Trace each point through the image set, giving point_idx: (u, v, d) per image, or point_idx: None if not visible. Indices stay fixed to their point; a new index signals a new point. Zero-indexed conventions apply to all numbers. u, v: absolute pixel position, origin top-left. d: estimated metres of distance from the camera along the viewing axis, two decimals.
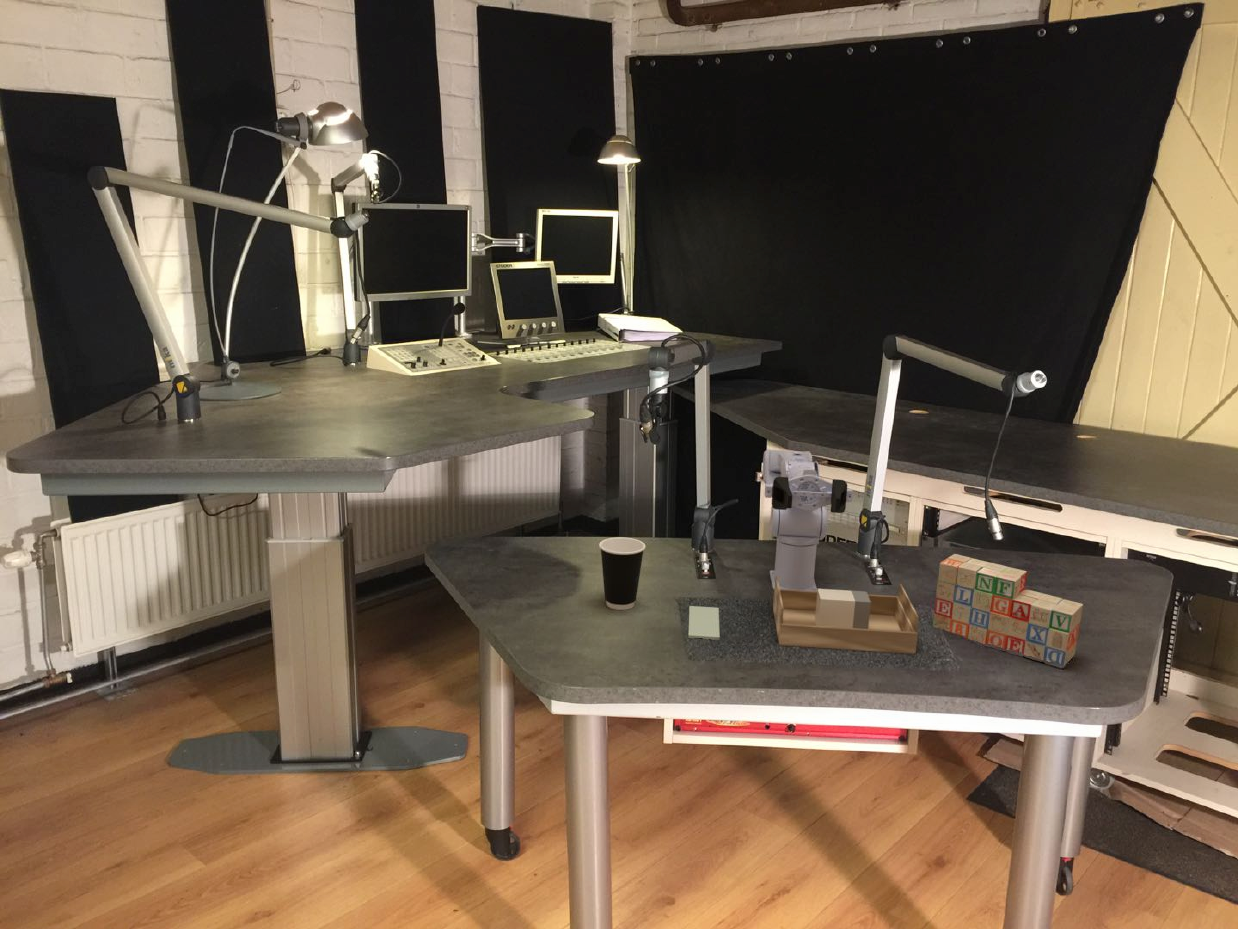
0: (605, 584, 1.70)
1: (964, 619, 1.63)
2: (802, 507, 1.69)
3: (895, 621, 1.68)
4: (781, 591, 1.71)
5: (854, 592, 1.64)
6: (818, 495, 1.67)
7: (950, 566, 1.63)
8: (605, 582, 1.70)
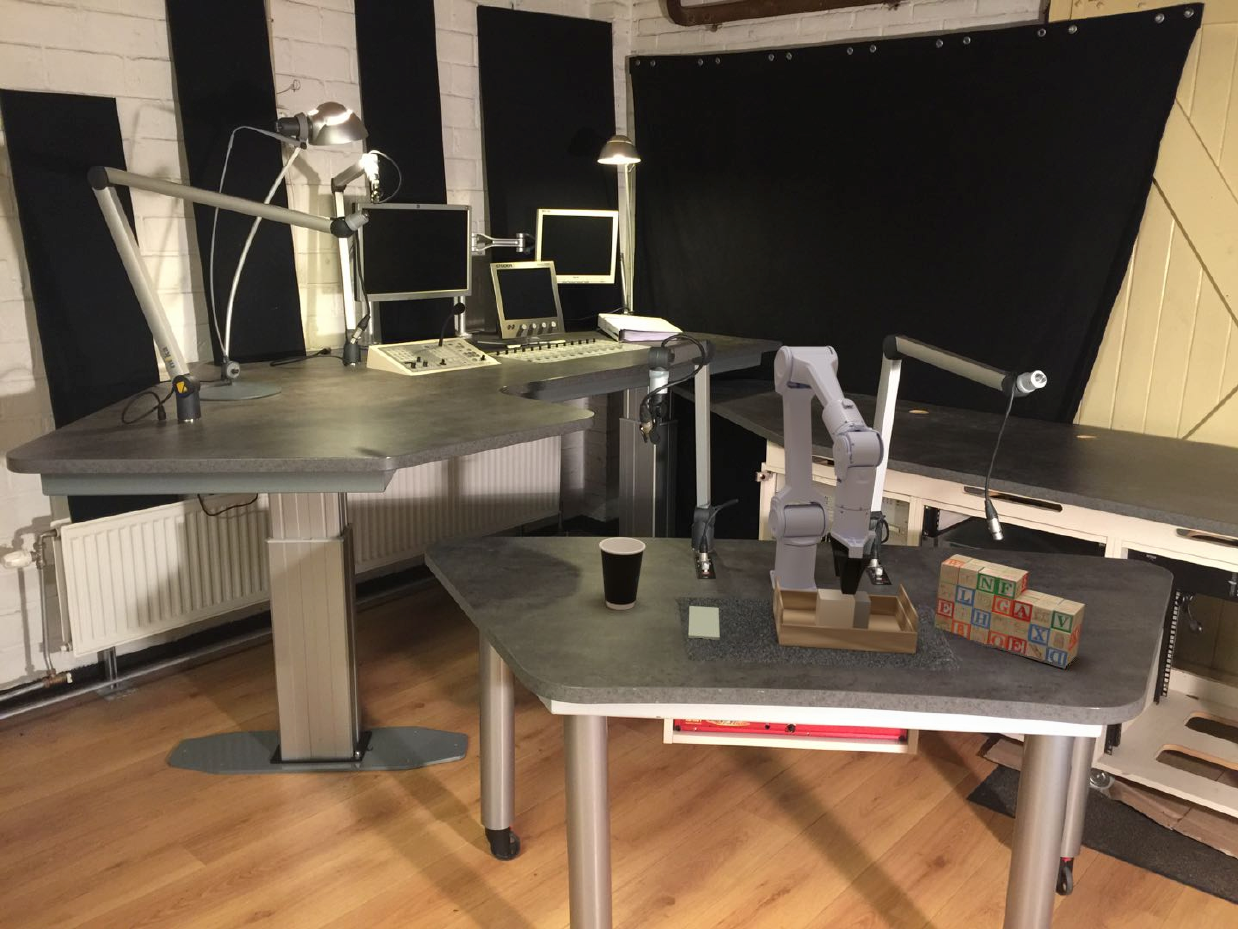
0: (605, 584, 1.70)
1: (965, 620, 1.62)
2: (834, 536, 1.59)
3: (895, 621, 1.68)
4: (781, 591, 1.71)
5: None
6: None
7: (951, 566, 1.62)
8: (605, 582, 1.70)
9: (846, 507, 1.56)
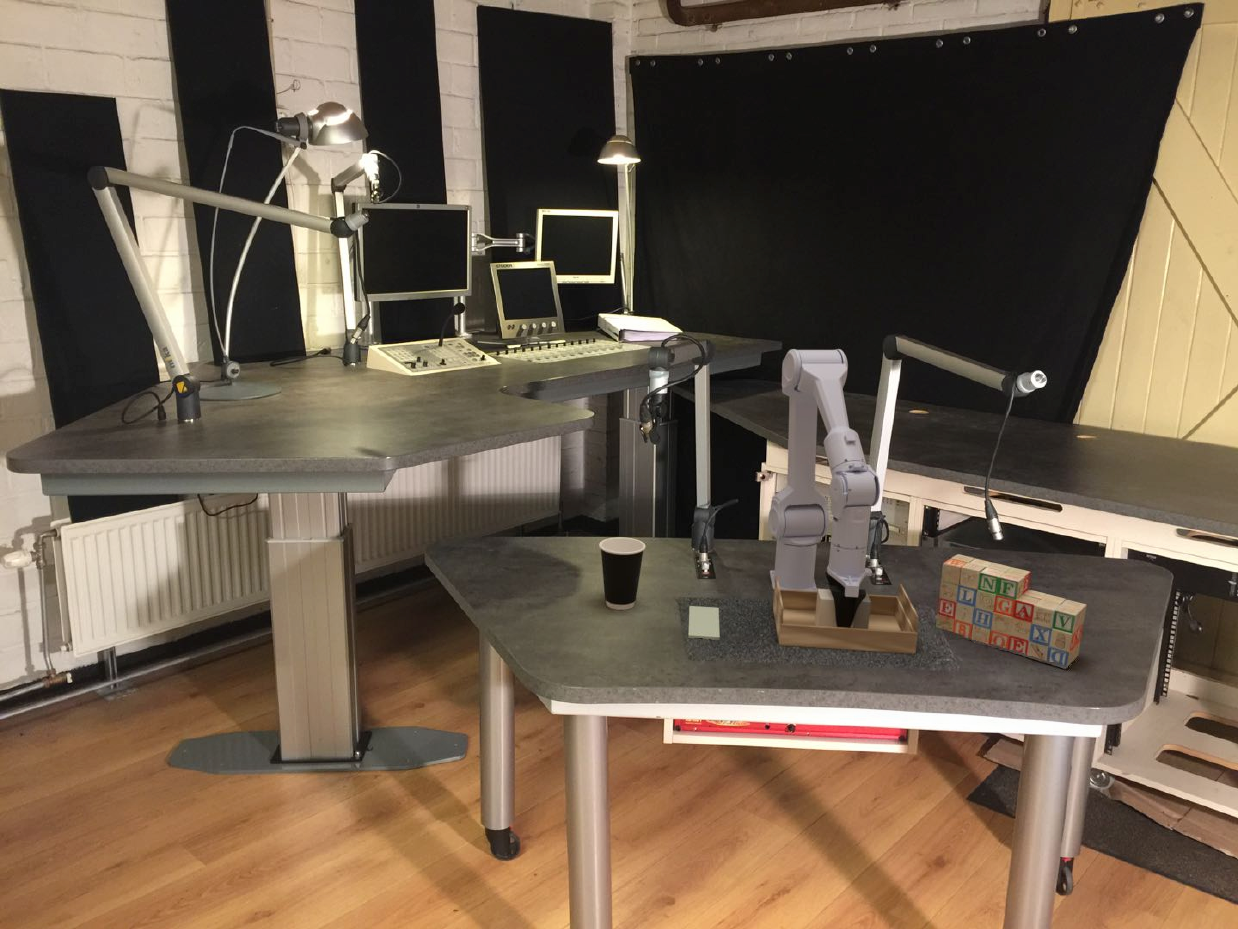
0: (605, 584, 1.70)
1: (967, 620, 1.63)
2: None
3: (895, 621, 1.68)
4: (781, 591, 1.71)
5: None
6: None
7: (953, 566, 1.62)
8: (605, 582, 1.70)
9: (842, 546, 1.58)
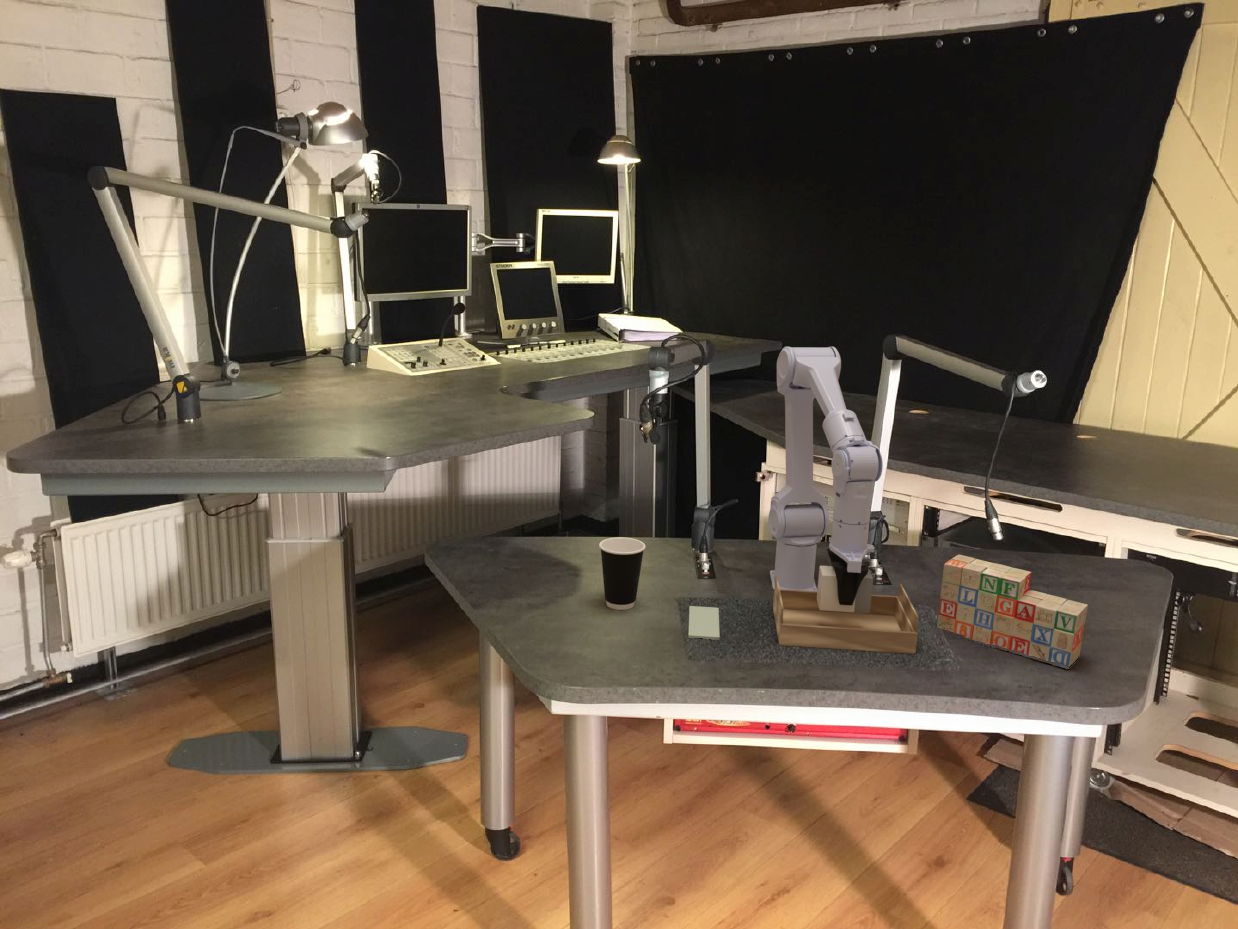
0: (605, 584, 1.70)
1: (968, 620, 1.62)
2: None
3: (895, 621, 1.68)
4: (781, 591, 1.71)
5: None
6: None
7: (954, 567, 1.62)
8: (605, 582, 1.70)
9: (845, 521, 1.57)
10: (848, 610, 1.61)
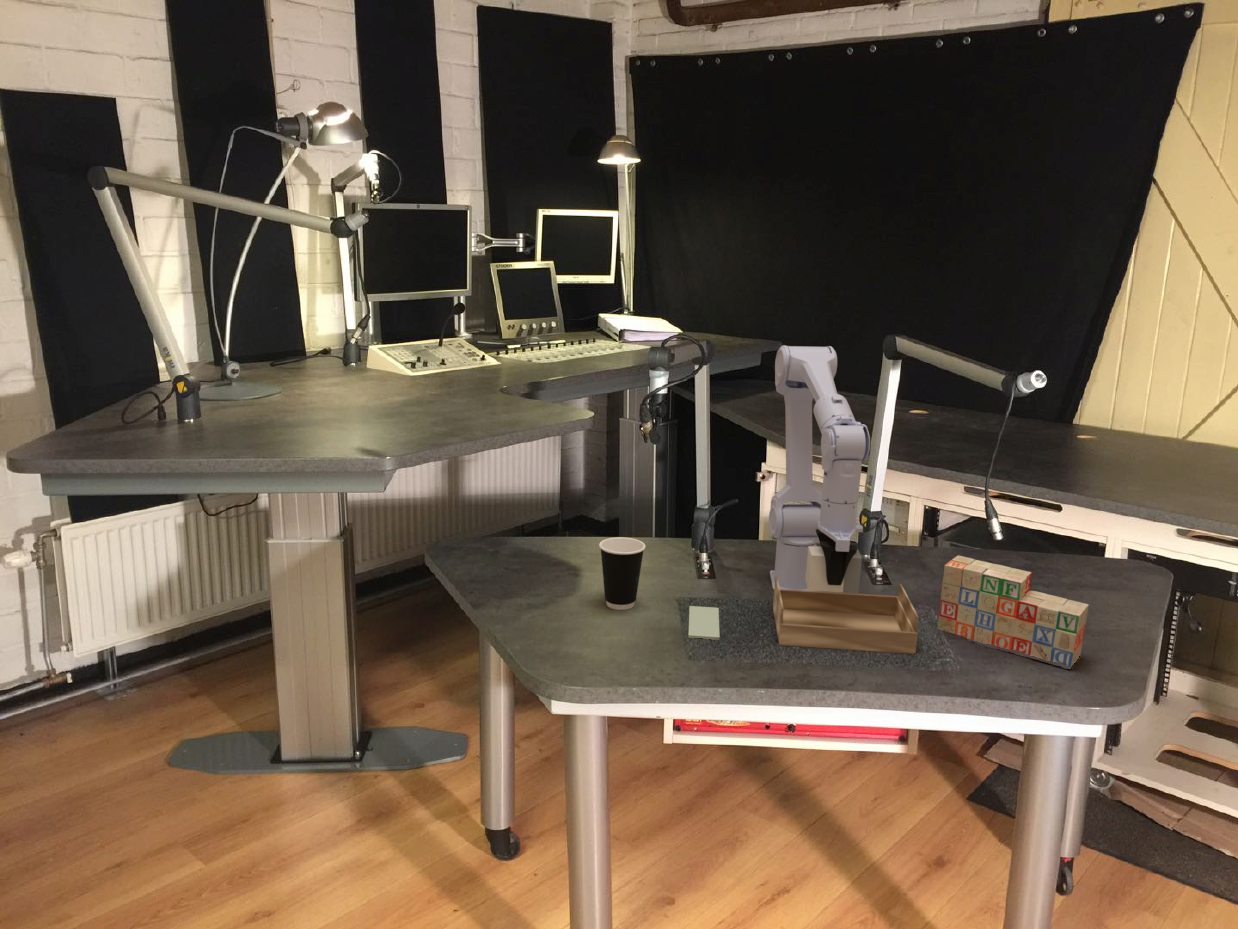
0: (605, 584, 1.70)
1: (969, 621, 1.62)
2: (821, 530, 1.59)
3: (895, 621, 1.68)
4: (781, 591, 1.71)
5: None
6: None
7: (955, 568, 1.62)
8: (605, 582, 1.70)
9: (831, 500, 1.56)
10: (837, 590, 1.60)
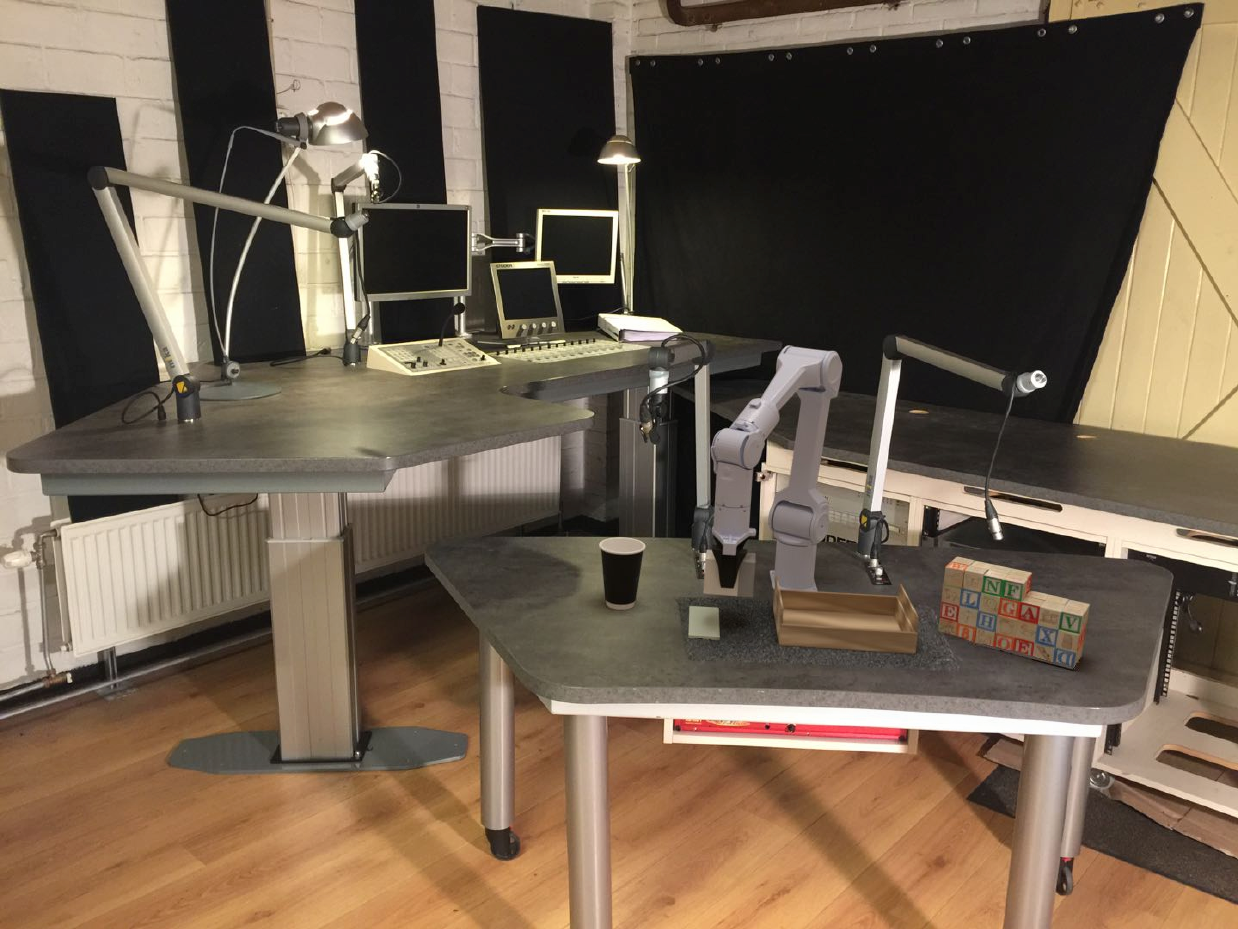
0: (605, 584, 1.70)
1: (970, 623, 1.61)
2: None
3: (895, 621, 1.68)
4: (781, 591, 1.71)
5: None
6: None
7: (956, 570, 1.61)
8: (605, 582, 1.70)
9: (715, 501, 1.60)
10: (731, 594, 1.62)
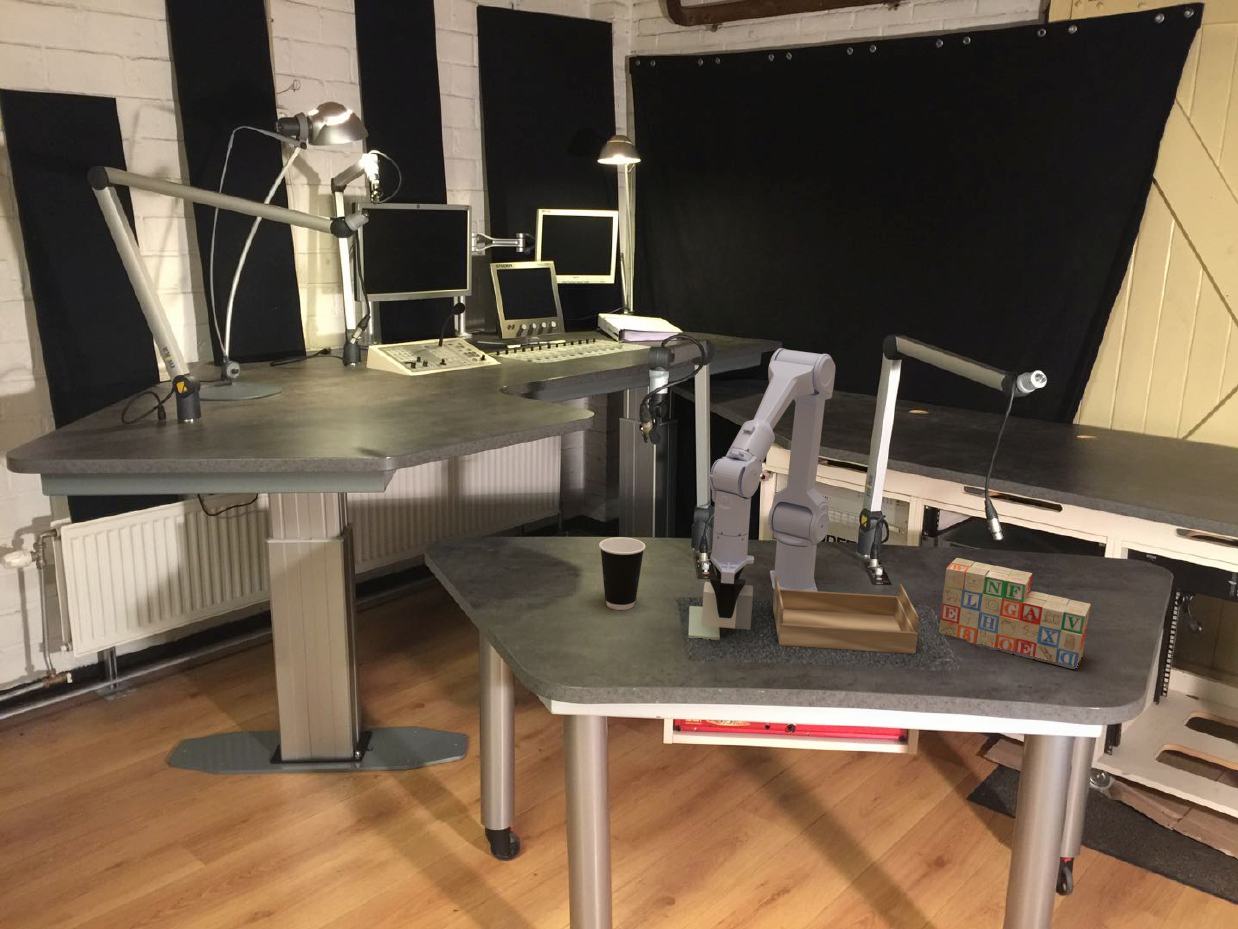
0: (605, 584, 1.70)
1: (972, 624, 1.61)
2: None
3: (895, 621, 1.68)
4: (781, 591, 1.71)
5: None
6: None
7: (957, 571, 1.60)
8: (605, 582, 1.70)
9: (713, 529, 1.61)
10: (729, 626, 1.63)
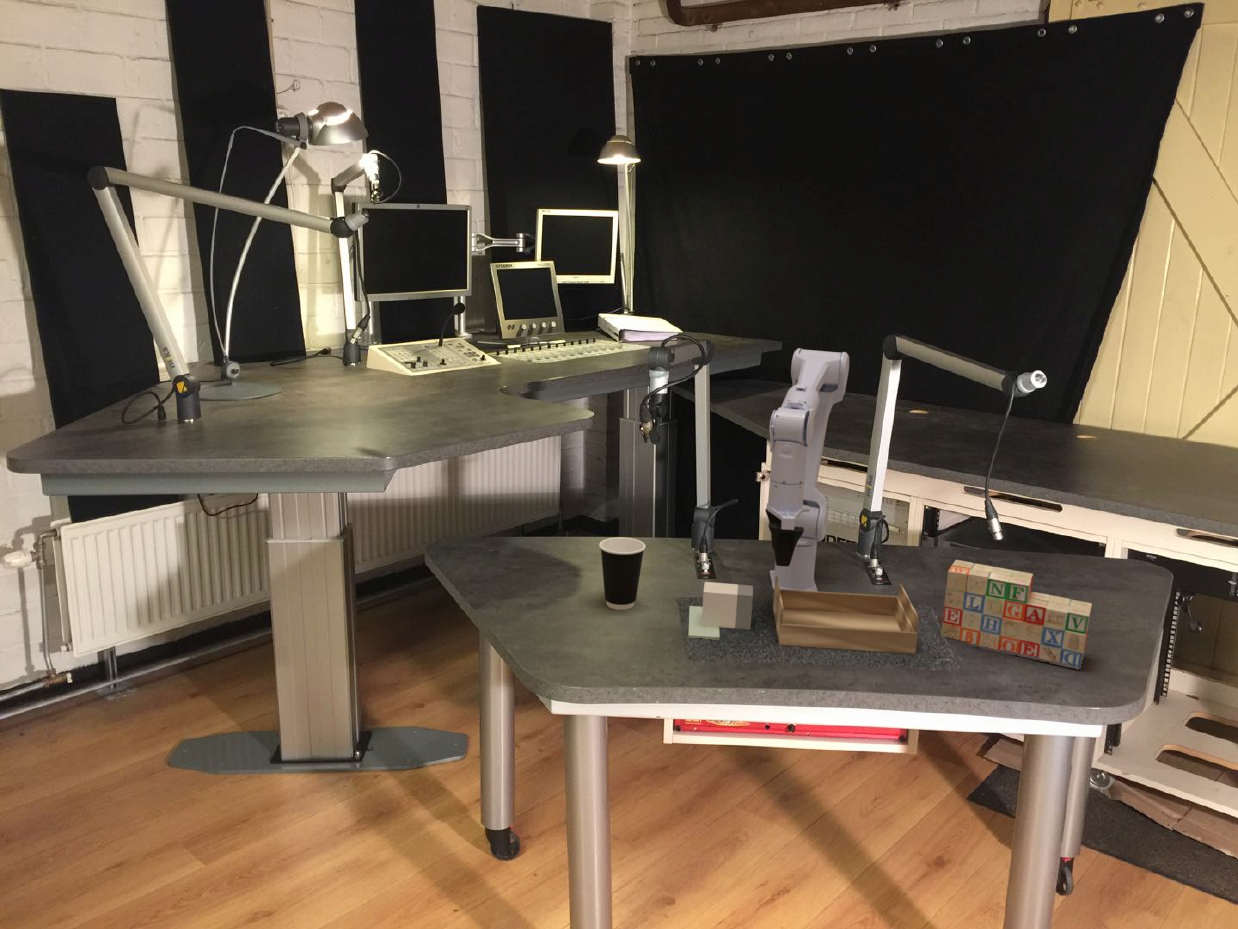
0: (605, 584, 1.70)
1: (974, 627, 1.60)
2: None
3: (895, 621, 1.68)
4: (781, 591, 1.71)
5: (740, 586, 1.65)
6: None
7: (959, 573, 1.59)
8: (605, 582, 1.70)
9: (772, 479, 1.63)
10: (729, 626, 1.63)
